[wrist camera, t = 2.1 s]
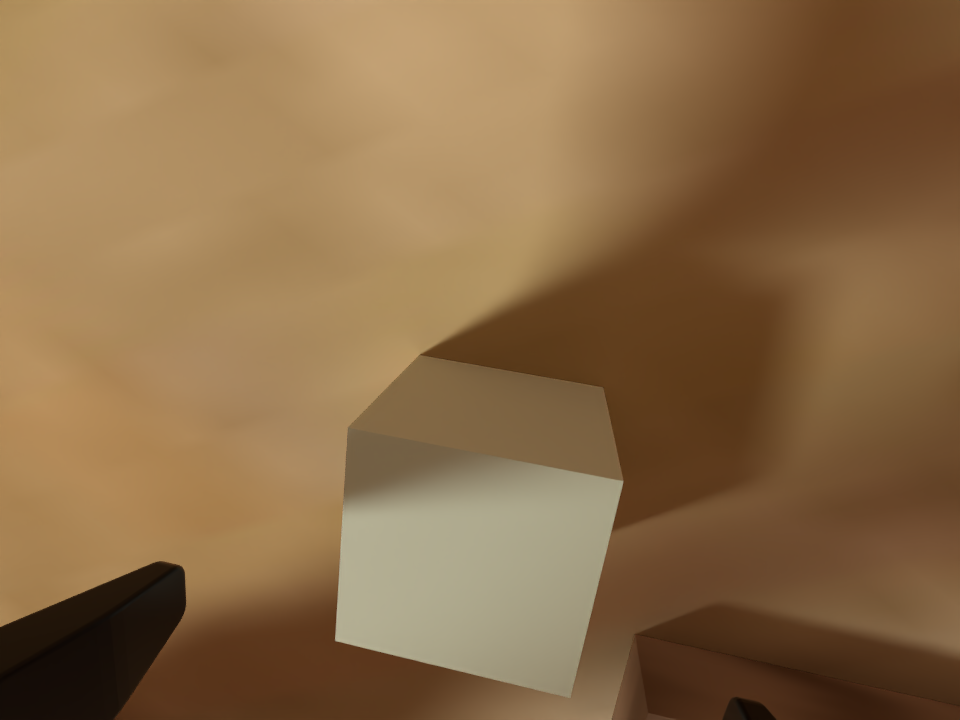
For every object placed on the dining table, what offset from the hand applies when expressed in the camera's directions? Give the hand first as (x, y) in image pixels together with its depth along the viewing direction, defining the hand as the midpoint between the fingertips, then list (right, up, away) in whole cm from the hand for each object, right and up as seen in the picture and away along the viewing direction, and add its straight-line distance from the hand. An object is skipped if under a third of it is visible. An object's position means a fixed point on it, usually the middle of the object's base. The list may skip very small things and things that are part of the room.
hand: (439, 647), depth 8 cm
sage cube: (+1, +2, +6) cm, 7 cm away
